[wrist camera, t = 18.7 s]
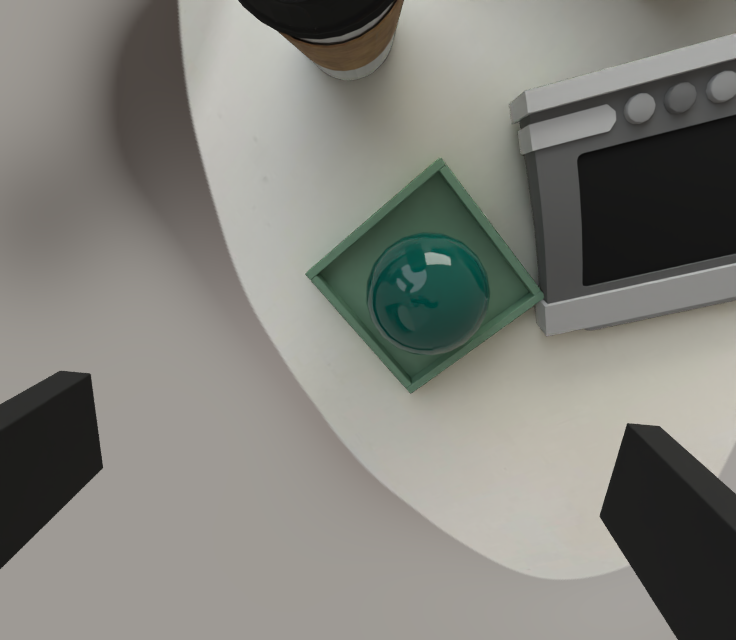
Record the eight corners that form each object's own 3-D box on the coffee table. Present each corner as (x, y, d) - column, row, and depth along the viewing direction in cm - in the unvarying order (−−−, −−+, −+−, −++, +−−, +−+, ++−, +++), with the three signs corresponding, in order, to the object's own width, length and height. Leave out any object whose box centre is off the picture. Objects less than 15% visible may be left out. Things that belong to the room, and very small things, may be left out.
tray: (309, 270, 32) (304, 274, 31) (438, 158, 29) (440, 156, 28) (409, 385, 34) (410, 394, 33) (539, 292, 32) (546, 297, 30)
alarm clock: (855, 0, 22) (845, 296, 26) (777, 34, 27) (779, 283, 31) (524, 90, 24) (561, 354, 28) (504, 108, 29) (538, 334, 33)
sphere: (382, 215, 30) (377, 223, 23) (491, 240, 30) (524, 257, 23) (359, 320, 33) (347, 359, 25) (460, 343, 33) (480, 389, 25)
